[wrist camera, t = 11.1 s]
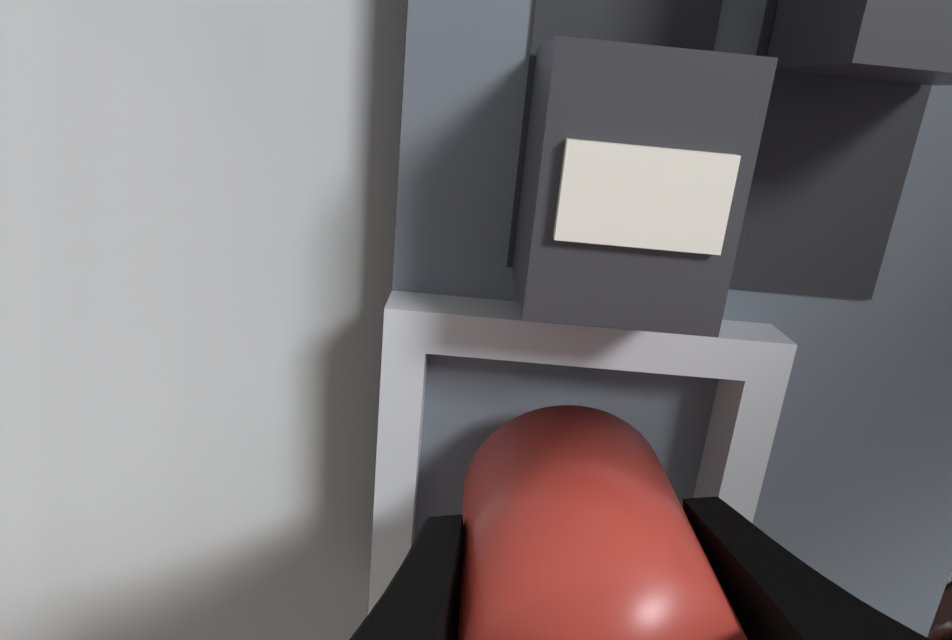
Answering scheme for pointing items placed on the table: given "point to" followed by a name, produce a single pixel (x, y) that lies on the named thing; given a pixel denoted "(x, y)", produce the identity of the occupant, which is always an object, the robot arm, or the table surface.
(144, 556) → the table surface
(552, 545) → the cap
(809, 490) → the breaker panel
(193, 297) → the table surface
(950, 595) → the letter holder
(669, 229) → the block
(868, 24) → the block
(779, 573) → the robot arm
